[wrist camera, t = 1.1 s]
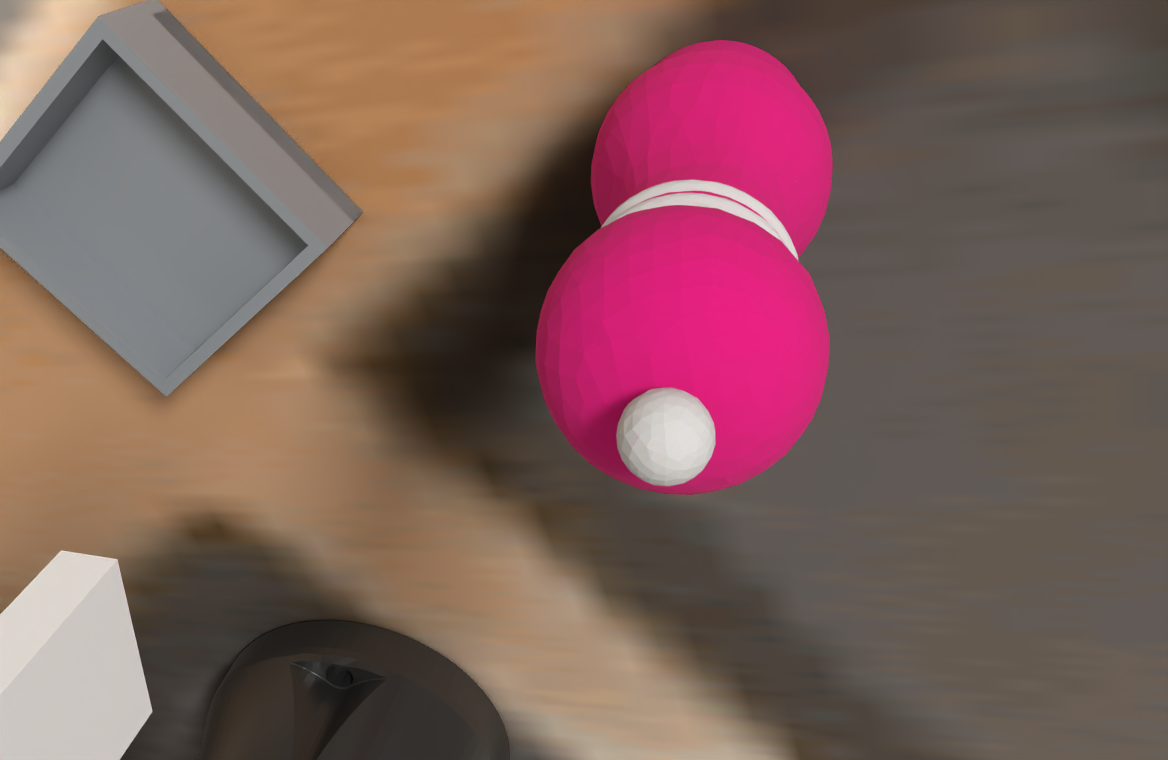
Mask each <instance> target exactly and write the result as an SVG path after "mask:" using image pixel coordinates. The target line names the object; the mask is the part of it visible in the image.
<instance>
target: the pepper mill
mask: <svg viewBox="0 0 1168 760" xmlns="http://www.w3.org/2000/svg"><path fill="white" fill-rule="evenodd" d="M832 168H833V163H832V151H831V144H830V140H829V136H828V133H827V129H826V126H825V124H824V122H823V120H822V117H821V115H820V113H819V111H818V109H817V108H816V106H815V105H814V103H813V102H812V100H811V99H810V97H809V96H808V95H807V93H806V92H805V91H804V90H803V89H802V88H801V86H800V85H799V84H798V82H797V81H796V79H795V78H794V76H793V75H792V74H791V73H790V71H789V70H788V69H787V68H786V67H785V66H784V65H783V64H782V63H781V62H779V61H778V60H777V59H776V58H774V57H773V56H771V55H770V54H768V53H767V52H765V51H763V50H761V49H759V48H757V47H754V46H751V45H748V44H745V43H741V42H736V41H726V40H715V41H707V42H700V43H696V44H693V45H689V46H686V47H683V48H681V49H679V50H677V51H675V52H674V53H672V54H670V55H668V56H667V57H665V58H664V59H662V60H661V61H660V62H659V63H658V64H656V65H655V66H654V67H652V68H650V69H648V70H647V71H645V72H644V73H643V74H642V75H640V76H639V77H638V78H636V79H635V80H634V81H632V82H631V83H630V84H629V85H628V86H627V88H626V89H625V90H624V91H623V92H622V93H621V94H620V95H619V96H618V97H617V99H616V100H615V102H614V103H613V105H612V106H611V108H610V109H609V111H608V113H607V115H606V117H605V119H604V121H603V124H602V126H601V128H600V130H599V133H598V137H597V141H596V145H595V149H594V154H593V159H592V164H591V188H592V195H593V202H594V207H595V210H596V212H597V215H598V218H599V221H600V224H601V228H600V229H598V230H597V231H596V232H595V233H593V234H592V235H591V236H590V237H589V238H587V239H586V240H585V241H584V242H583V243H582V244H580V245H579V246H578V247H577V248H576V249H575V250H573V252H572V253H571V255H570V256H569V258H568V259H567V260H566V262H565V263H564V265H563V266H562V267H561V269H560V270H559V272H558V273H557V275H556V277H555V279H554V280H553V282H552V284H551V286H550V287H549V289H548V291H547V294H546V297H545V300H544V303H543V306H542V309H541V313H540V318H539V323H538V328H537V333H536V367H537V372H538V376H539V380H540V385H541V389H542V393H543V397H544V400H545V403H546V405H547V407H548V409H549V412H550V414H551V416H552V418H553V419H554V421H555V422H556V424H557V426H558V427H559V429H560V430H561V431H562V433H563V434H564V436H565V437H566V439H567V440H568V442H569V443H570V444H571V446H572V447H573V448H574V449H575V450H576V451H577V452H578V453H580V454H581V455H582V456H583V457H584V458H585V459H586V460H587V461H588V462H589V463H590V464H592V465H593V466H595V467H596V468H598V469H599V470H601V471H602V472H604V473H605V474H607V475H609V476H610V477H612V478H614V479H617V480H619V481H622V482H624V483H627V484H629V485H632V486H634V487H637V488H639V489H644V490H649V491H654V492H659V493H664V494H686V495H693V494H700V493H707V492H713V491H717V490H721V489H724V488H728V487H732V486H735V485H739V484H741V483H743V482H744V481H746V480H748V479H750V478H752V477H754V476H755V475H757V474H759V473H761V472H763V471H764V470H766V469H767V468H769V467H770V466H772V465H773V464H774V463H775V462H777V461H778V460H779V459H780V458H782V457H783V456H784V455H785V454H786V453H787V452H788V451H789V450H790V448H791V447H792V446H793V445H794V444H795V442H796V441H797V440H798V439H799V437H800V436H801V434H802V433H803V432H804V430H805V429H806V427H807V426H808V425H809V423H810V422H811V420H812V418H813V416H814V414H815V411H816V409H817V407H818V405H819V402H820V400H821V397H822V393H823V388H824V384H825V379H826V375H827V370H828V361H829V333H828V327H827V322H826V316H825V312H824V309H823V306H822V304H821V301H820V299H819V296H818V293H817V291H816V288H815V286H814V283H813V281H812V279H811V276H810V274H809V273H808V272H807V271H806V269H805V268H804V267H803V266H802V265H801V264H800V262H799V261H798V258H799V257H800V255H801V254H802V253H803V251H804V250H805V249H806V247H807V246H808V245H809V243H810V242H811V240H812V239H813V238H814V236H815V235H816V233H817V231H818V229H819V226H820V224H821V222H822V219H823V217H824V215H825V212H826V208H827V203H828V199H829V195H830V190H831V179H832Z"/></svg>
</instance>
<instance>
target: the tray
mask: <svg viewBox="0 0 1168 760" xmlns="http://www.w3.org/2000/svg"><path fill="white" fill-rule="evenodd" d="M362 213H363V212H362V211H361V210H360V209H359V208H358V207H357V205H356V204H355V203H354V202H353V201H352V200H351V199H350V198H349V197H348V196H347V195H346V194H345V193H344V192H343V191H342V190H341V189H340V188H339V187H338V186H337V185H336V184H335V183H334V182H333V181H332V180H331V179H330V178H329V177H328V175H327V174H326V173H325V172H324V171H323V170H322V169H321V168H320V167H319V166H318V165H317V164H316V163H315V162H314V161H313V160H312V159H311V158H310V157H309V156H308V155H307V154H306V153H305V152H304V151H303V150H302V149H301V148H300V146H299V145H298V144H297V143H296V142H295V141H294V140H293V139H292V138H291V137H290V136H289V135H288V134H287V133H286V132H285V131H284V130H283V129H282V128H281V127H280V126H279V125H278V124H277V123H276V122H275V121H274V120H273V119H272V118H271V116H270V115H269V114H268V113H267V112H266V111H265V110H264V109H263V108H262V107H261V106H260V105H259V104H258V103H257V102H256V101H255V100H254V99H253V98H252V97H251V96H250V95H249V94H248V93H247V92H246V91H245V90H244V89H243V87H242V86H241V85H240V84H239V83H238V82H237V81H236V80H235V79H234V78H233V77H232V76H231V75H230V74H229V73H228V72H227V71H226V70H225V69H224V68H223V67H222V66H221V65H220V64H219V63H218V62H217V61H216V60H215V59H214V57H213V56H212V55H211V54H210V53H209V52H208V51H207V50H206V49H205V48H204V47H203V46H202V45H201V44H200V43H199V42H198V41H197V40H196V39H195V38H194V37H193V36H192V35H191V34H190V33H189V32H188V31H187V30H186V28H185V27H184V26H183V25H182V24H181V23H180V22H179V21H178V20H177V19H176V18H175V17H174V16H173V15H172V14H171V13H170V12H169V11H168V10H167V9H166V8H165V7H164V6H163V5H162V4H161V3H160V2H159V1H158V0H147V1H144V2H141V3H138V4H134V5H131V6H128V7H125V8H122V9H119V10H116V11H113V12H110V13H107V14H104V15H101V16H98V17H97V19H96V20H95V21H94V23H93V24H92V25H91V26H90V28H89V29H88V30H87V32H86V33H85V34H84V35H83V37H82V38H81V39H80V41H79V42H78V43H77V44H76V46H75V47H74V48H73V49H72V51H71V52H70V53H69V55H68V56H67V57H66V58H65V60H64V61H63V62H62V64H61V65H60V66H59V67H58V69H57V70H56V71H55V72H54V74H53V75H52V76H51V78H50V79H49V80H48V81H47V83H46V84H45V85H44V87H43V88H42V89H41V90H40V92H39V93H38V94H37V95H36V97H35V98H34V99H33V101H32V102H31V103H30V104H29V106H28V107H27V108H26V110H25V111H24V112H23V113H22V115H21V116H20V117H19V118H18V120H17V121H16V122H15V124H14V125H13V126H12V127H11V129H10V130H9V131H8V133H7V134H6V135H5V136H4V138H3V139H2V140H1V142H0V248H1V249H2V250H3V251H5V252H6V253H7V254H8V255H9V256H10V257H11V258H12V259H13V260H15V261H16V262H17V263H18V264H19V265H20V266H21V267H22V268H23V269H25V270H26V271H27V272H28V273H29V274H30V275H31V276H32V277H33V278H35V279H36V280H37V281H38V282H39V283H40V284H41V285H42V286H43V287H45V288H46V289H47V290H48V291H49V292H50V293H51V294H52V295H53V296H55V297H56V298H57V299H58V300H59V301H60V302H61V303H62V304H63V305H65V306H66V307H67V308H68V309H69V310H70V311H71V312H72V313H73V314H75V315H76V316H77V317H78V318H79V319H80V320H81V321H82V322H83V323H85V324H86V325H87V326H88V327H89V328H90V329H91V330H92V331H93V332H95V333H96V334H97V335H98V336H99V337H100V338H101V339H102V340H103V341H105V342H106V343H107V344H108V345H109V346H110V347H111V348H112V349H113V350H115V351H116V352H117V353H118V354H119V355H120V356H121V357H122V358H123V359H125V360H126V361H127V362H128V363H129V364H130V365H131V366H132V367H133V368H135V369H136V370H137V371H138V372H139V373H140V374H141V375H142V376H143V377H145V378H146V379H147V380H148V381H149V382H150V383H151V384H152V385H153V386H155V387H156V388H157V389H158V390H159V391H160V392H161V393H162V394H163V395H165V396H166V397H167V396H168V395H169V394H170V393H171V392H172V391H173V390H174V389H175V388H176V387H178V386H179V385H180V384H181V383H182V382H183V381H184V380H185V379H186V378H187V377H188V376H189V375H191V374H192V373H193V372H194V371H195V370H196V369H197V368H198V367H199V366H200V365H201V364H202V363H204V362H205V361H206V360H207V359H208V358H209V357H210V356H211V355H212V354H213V353H214V352H215V351H217V350H218V349H219V348H220V347H221V346H222V345H223V344H224V343H225V342H226V341H227V340H228V339H230V338H231V337H232V336H233V335H234V334H235V333H236V332H237V331H238V330H239V329H240V328H241V327H243V326H244V325H245V324H246V323H247V322H248V321H249V320H250V319H251V318H252V317H253V316H254V315H256V314H257V313H258V312H259V311H260V310H261V309H262V308H263V307H264V306H265V305H266V304H267V303H269V302H270V301H271V300H272V299H273V298H274V297H275V296H276V295H277V294H278V293H279V292H280V291H282V290H283V289H284V288H285V287H286V286H287V285H288V284H289V283H290V282H291V281H292V280H294V279H295V278H296V277H297V276H298V275H299V274H300V273H301V272H302V271H303V270H304V269H305V268H307V267H308V266H309V265H310V264H311V263H312V262H313V261H314V260H315V259H316V258H317V257H318V256H320V255H321V254H322V253H323V252H324V251H325V250H326V249H327V248H328V247H329V246H330V245H331V244H332V243H333V242H334V241H335V240H336V239H337V238H338V237H339V236H340V235H341V234H342V233H343V232H344V231H345V230H346V229H347V228H348V227H349V226H350V225H351V224H352V223H353V222H354V221H355V220H356V219H357V218H358V217H359V216H360V215H361V214H362Z"/></svg>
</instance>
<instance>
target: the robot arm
mask: <svg viewBox="0 0 1168 760" xmlns="http://www.w3.org/2000/svg"><path fill="white" fill-rule="evenodd" d="M151 713H152V707H151V703H150V699H149V694H148V690H147V686H146V681H145V677H144V673H143V668H142V664H141V660H140V655H139V651H138V647H137V642H136V638H135V634H134V629H133V625H132V621H131V616H130V612H129V608H128V603H127V599H126V595H125V590H124V586H123V582H122V577H121V573H120V569H119V564H118V560H117V559H112V558H106V557H100V556H93V555H87V554H81V553H74V552H68V551H62V550H61V551H60V552H59V553H58V554H57V555H56V556H55V557H54V558H53V559H52V561H51V562H50V563H49V564H48V565H47V566H46V567H45V568H44V569H43V570H42V571H41V572H40V573H39V574H38V575H37V576H36V577H35V579H34V580H33V581H32V582H31V583H30V584H29V585H28V586H27V587H26V588H25V589H24V590H23V591H22V592H21V593H20V594H19V595H18V596H17V598H16V599H15V600H14V601H13V602H12V603H11V604H10V605H9V606H8V607H7V608H6V609H5V610H4V611H3V612H2V613H1V614H0V760H120V758H121V757H122V756H123V754H124V753H125V751H126V750H127V748H128V747H129V745H130V744H131V742H132V741H133V739H134V738H135V736H136V735H137V734H138V732H139V731H140V729H141V728H142V726H143V725H144V723H145V722H146V720H147V719H148V717H149V716H150V714H151ZM198 760H510V750H509V742H508V737H507V733H506V730H505V727H504V725H503V722H502V720H501V718H500V716H499V714H498V712H497V710H496V708H495V707H494V705H493V704H492V702H491V701H490V699H489V698H488V697H487V695H486V694H485V693H484V692H483V690H482V689H481V688H480V687H479V686H478V685H477V684H476V683H475V682H474V681H473V680H472V679H471V678H470V677H469V676H468V675H467V674H466V673H465V672H464V671H463V670H461V669H460V668H459V667H458V666H456V665H455V664H454V663H452V662H451V661H450V660H448V659H447V658H445V657H444V656H442V655H441V654H439V653H438V652H436V651H434V650H432V649H431V648H429V647H427V646H425V645H423V644H421V643H419V642H417V641H415V640H413V639H410V638H408V637H406V636H403V635H401V634H398V633H395V632H392V631H389V630H386V629H383V628H379V627H375V626H371V625H366V624H361V623H355V622H347V621H332V620H322V621H307V622H301V623H295V624H291V625H287V626H284V627H280V628H278V629H275V630H273V631H270V632H268V633H266V634H264V635H262V636H261V637H259V638H257V639H256V640H254V641H253V642H252V643H251V644H249V645H248V646H247V647H246V648H245V649H244V650H243V651H242V652H241V653H240V655H239V656H238V657H237V659H236V660H235V662H234V663H233V665H232V666H231V668H230V670H229V671H228V673H227V674H226V676H225V678H224V679H223V681H222V683H221V684H220V686H219V687H218V689H217V691H216V693H215V695H214V697H213V700H212V702H211V705H210V707H209V711H208V715H207V719H206V725H205V729H204V734H203V739H202V744H201V749H200V754H199V759H198Z"/></svg>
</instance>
